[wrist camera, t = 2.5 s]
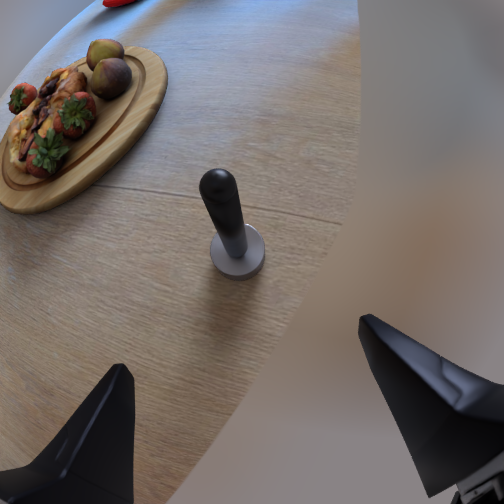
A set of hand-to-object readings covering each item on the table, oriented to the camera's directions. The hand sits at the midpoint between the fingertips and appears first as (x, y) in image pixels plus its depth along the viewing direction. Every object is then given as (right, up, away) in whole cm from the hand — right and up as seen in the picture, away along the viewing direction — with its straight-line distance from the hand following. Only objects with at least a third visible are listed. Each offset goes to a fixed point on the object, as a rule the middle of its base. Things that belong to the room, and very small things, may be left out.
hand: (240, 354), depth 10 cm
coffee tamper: (-1, +3, +15) cm, 16 cm away
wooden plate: (-26, +23, +23) cm, 42 cm away
